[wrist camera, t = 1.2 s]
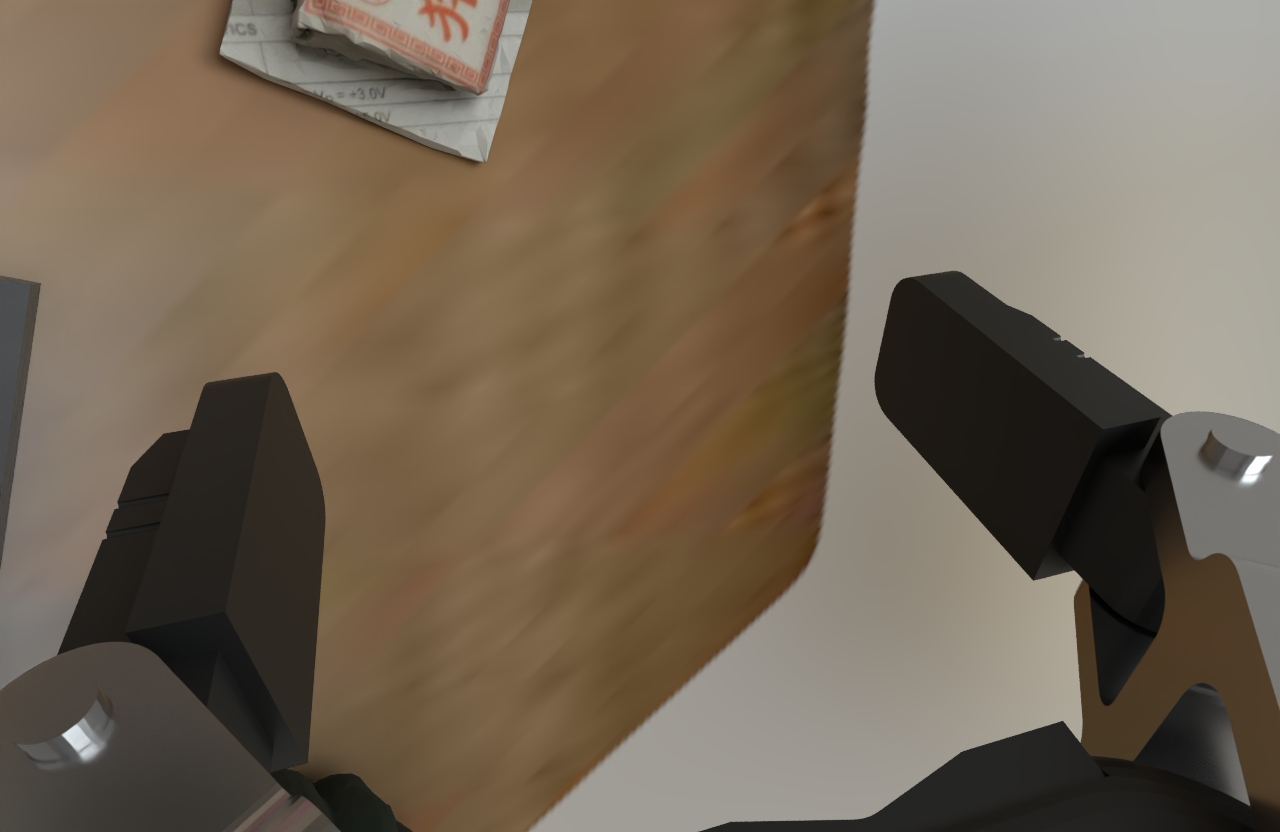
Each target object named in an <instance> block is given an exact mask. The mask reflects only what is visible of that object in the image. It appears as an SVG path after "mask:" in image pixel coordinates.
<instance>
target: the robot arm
mask: <svg viewBox="0 0 1280 832" xmlns="http://www.w3.org/2000/svg"><path fill="white" fill-rule="evenodd" d="M875 391H876V396H877V400H878V402H879V405H880V407H881V409H882V411H883V412H884V414H885V415H886V417H887V418H888V419H889V420H890V421H891V422H892V423H893V424H894V426H895V427H896V428H897V429H898V430H899V431H900V432H901V433H902V435H903V436H904V437H905V438H906V439H907V440H908V441H909V442H910V444H911V445H912V446H913V447H914V448H915V449H916V450H917V451H918V452H919V453H920V455H921V456H922V457H923V458H924V459H925V460H926V461H927V462H928V464H929V465H930V466H931V467H932V468H933V469H934V470H935V471H936V473H937V474H938V475H939V476H940V477H941V478H942V479H943V480H944V481H945V483H946V484H947V485H948V486H949V487H950V488H951V489H952V490H953V492H954V493H955V494H956V495H957V496H958V497H959V498H960V499H961V500H962V502H963V503H964V504H965V505H966V506H967V507H968V508H969V509H970V510H971V512H972V513H973V514H974V515H975V516H976V517H977V518H978V519H979V521H980V522H981V523H982V524H983V525H984V526H985V527H986V528H987V529H988V530H989V532H990V533H991V534H992V535H993V536H994V537H995V538H996V540H997V541H998V542H999V543H1000V544H1001V545H1002V546H1003V547H1004V548H1005V550H1006V551H1007V552H1008V553H1009V554H1010V555H1011V556H1012V557H1013V558H1014V560H1015V561H1016V562H1017V563H1018V564H1019V565H1020V566H1021V567H1022V569H1023V570H1024V571H1025V572H1026V573H1027V574H1028V575H1029V576H1030V577H1031V579H1032V580H1033V581H1034V580H1038V579H1042V578H1046V577H1050V576H1053V575H1057V574H1061V573H1065V572H1069V571H1073V570H1075V571H1076V572H1077V573H1078V574H1079V575H1080V576H1081V578H1082V581H1081V583H1080V585H1079V586H1078V589H1077V590H1076V593H1075V596H1074V612H1075V625H1076V638H1077V651H1078V664H1079V678H1080V691H1081V704H1082V718H1083V729H1082V738H1081V743H1080V742H1079V741H1078V739H1077V738H1076V737H1075V736H1074V734H1073V733H1072V732H1071V731H1070V730H1069V728H1068V727H1067V726H1066V724H1065V723H1064V722H1063V721H1061V722H1058V723H1055V724H1051V725H1048V726H1045V727H1042V728H1038V729H1035V730H1032V731H1028V732H1025V733H1022V734H1019V735H1015V736H1012V737H1009V738H1005V739H1002V740H999V741H995V742H992V743H989V744H986V745H982V746H979V747H976V748H972V749H969V750H966V751H963V752H961V753H960V754H958V755H957V756H955V757H954V758H953V759H951V760H950V761H948V762H947V763H946V764H944V765H943V766H942V767H940V768H939V769H937V770H936V771H935V772H933V773H932V774H930V775H929V776H928V777H926V778H925V779H923V780H922V781H921V782H919V783H918V784H916V785H915V786H914V787H912V788H911V789H910V790H908V791H907V792H905V793H904V794H903V795H901V796H900V797H899V798H897V799H896V800H894V801H893V802H891V803H890V804H889V805H887V806H886V807H885V808H883V809H882V810H880V811H879V812H877V813H876V814H874V815H872V816H870V817H867V818H863V819H857V820H813V821H760V822H759V821H757V822H756V821H755V822H729V823H726V824H723V825H720V826H716V827H713V828H709V829H706V830H703V831H700V832H1280V434H1278V433H1276V432H1275V431H1272V430H1270V429H1268V428H1266V427H1264V426H1261V425H1259V424H1256V423H1254V422H1251V421H1248V420H1245V419H1242V418H1238V417H1235V416H1230V415H1226V414H1220V413H1213V412H1186V413H1180V414H1177V415H1175V416H1172V415H1170V414H1169V413H1168V412H1166V411H1165V410H1163V409H1162V408H1161V407H1159V406H1158V405H1156V404H1155V403H1154V402H1152V401H1151V400H1149V399H1148V398H1147V397H1145V396H1144V395H1143V394H1141V393H1140V392H1138V391H1137V390H1135V389H1134V388H1132V387H1131V386H1130V385H1129V384H1127V383H1126V382H1124V381H1123V380H1122V379H1120V378H1118V377H1117V376H1116V375H1115V374H1113V373H1111V372H1110V371H1109V370H1108V369H1106V368H1105V367H1103V366H1102V365H1100V364H1099V363H1098V362H1096V361H1095V360H1094V359H1092V358H1091V357H1089V358H1085V357H1084V352H1082V351H1081V350H1080V349H1078V348H1077V347H1075V346H1074V345H1073V344H1071V343H1070V342H1068V341H1067V340H1064V341H1061V339H1060V335H1058V334H1057V333H1056V332H1054V331H1053V330H1051V329H1050V328H1049V327H1047V326H1046V325H1045V324H1043V323H1042V322H1040V321H1039V320H1037V319H1036V318H1035V317H1033V316H1032V315H1030V314H1027V313H1025V312H1022V311H1020V310H1018V309H1015V308H1013V307H1010V306H1008V305H1006V304H1005V303H1003V302H1002V301H1000V300H999V299H998V298H996V297H995V296H994V295H992V294H991V293H989V292H988V291H987V290H985V289H984V288H983V287H981V286H980V285H978V284H977V283H976V282H974V281H973V280H972V279H970V278H969V277H967V276H966V275H965V274H963V273H961V272H958V271H949V272H942V273H936V274H929V275H922V276H916V277H909V278H905V279H902V280H901V281H900V282H899V283H898V284H897V285H896V287H895V288H894V291H893V293H892V296H891V301H890V305H889V310H888V314H887V319H886V324H885V328H884V333H883V338H882V343H881V347H880V353H879V357H878V361H877V366H876V372H875ZM118 505H119V509H115V510H114V512H113V515H112V517H111V520H110V522H109V525H108V527H107V530H106V534H107V539H104V540H102V543H101V545H100V548H99V550H98V553H97V555H96V558H95V560H94V563H93V565H92V568H91V570H90V573H89V576H88V578H87V581H86V583H85V586H84V588H83V591H82V593H81V596H80V598H79V601H78V604H77V606H76V609H75V611H74V614H73V616H72V619H71V621H70V624H69V626H68V629H67V631H66V634H65V637H64V639H63V642H62V644H61V647H60V649H59V652H58V654H57V656H55V657H53V658H51V659H49V660H47V661H44V662H42V663H41V664H39V665H37V666H35V667H34V668H32V669H30V670H28V671H27V672H25V673H24V674H22V675H21V676H19V677H18V678H17V679H15V680H14V681H12V682H11V683H9V684H8V685H7V686H6V687H5V688H3V689H2V690H1V691H0V832H341V831H340V830H339V829H338V828H337V827H336V826H335V825H334V824H333V823H332V822H331V821H330V820H329V819H328V818H327V817H326V816H325V815H324V814H323V813H322V812H321V811H320V810H319V809H318V808H317V807H316V806H315V805H314V804H312V803H311V802H310V801H309V800H308V799H306V798H305V797H303V796H302V795H300V794H297V795H296V796H295V797H293V796H291V795H290V794H289V793H288V792H287V791H285V790H284V789H283V788H282V787H281V786H280V785H279V783H278V782H277V781H276V780H275V779H274V778H273V777H272V776H271V775H270V773H271V772H274V771H278V770H282V769H286V768H290V767H293V766H297V765H301V764H305V763H308V750H309V737H310V723H311V710H312V696H313V683H314V669H315V656H316V643H317V629H318V616H319V602H320V589H321V575H322V562H323V548H324V535H325V504H324V496H323V491H322V486H321V481H320V478H319V474H318V471H317V468H316V465H315V463H314V460H313V457H312V454H311V452H310V449H309V446H308V443H307V441H306V438H305V435H304V432H303V430H302V427H301V424H300V421H299V419H298V416H297V413H296V410H295V408H294V405H293V402H292V399H291V397H290V394H289V391H288V389H287V386H286V384H285V382H284V380H283V378H282V377H281V376H280V374H278V373H277V372H274V373H267V374H260V375H254V376H247V377H241V378H234V379H227V380H221V381H214V382H208V383H206V384H205V386H204V388H203V390H202V393H201V396H200V399H199V402H198V405H197V409H196V412H195V415H194V418H193V421H192V424H191V427H190V429H189V430H183V431H177V432H171V433H165V434H163V435H162V436H161V437H160V438H159V439H158V440H157V441H156V442H155V443H154V444H153V445H152V446H151V447H150V448H149V449H148V450H147V451H146V452H145V453H144V454H143V455H142V456H141V457H140V458H139V459H138V461H137V462H136V463H135V464H134V465H133V466H132V467H131V469H130V471H129V474H128V476H127V479H126V482H125V484H124V487H123V489H122V492H121V494H120V497H119V499H118Z"/></svg>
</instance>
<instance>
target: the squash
mask: <svg viewBox="0 0 1280 832" xmlns="http://www.w3.org/2000/svg"><path fill="white" fill-rule="evenodd" d="M270 775H271V776H272V777H273V778H274V779H275V780H276V781H277V782H278V783H279V785H280V786H281V787H282V788H283V789H284V790H285V791H287V792H288V793H289V794H290V795H291V796H293V797H295V796H296V795H297V794H300V795H302V796H303V797H305V798H306V799H308V800H309V801H310V802H311V803H312V804H314V805H315V806H316V807H317V808H318V809H319V810H320V811H321V812H322V813H323V814H324V815H325V816H326V817H327V818H328V819H329V820H330V821H331V822H332V823H333V824H334V825H335V826H336V827H337V828H338V829H339V830H340V831H341V832H412V831H411V830H410V829H408V828H407V827H405V826H404V825H402V824H401V823H399V822H398V821H396V819H395V817H394V814H393V812H392V809H391V807H390V806H389V805H387V804H386V803H384V802H383V801H382V800H381V799H380V798H379V797H377V796H376V795H375V794H374V793H373V792H372V791H371V790H370V789H369V788H368V787H367V786H366V784H365V783H364V782H363V781H362V780H361V778H360V777H358V776H356V775H354V774H336V775H331V776H328V777H326V778H323V779H321V780H319V781H317V782H316V783H314V784H312V783H311V782H310V781H309V780H307V779H306V778H305V777H304V776H302V775H301V774H300V773H298V772H297V771H293V770H289V769H282V770H278V771H274V772H271V773H270Z"/></svg>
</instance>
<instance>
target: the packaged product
mask: <svg viewBox="0 0 1280 832" xmlns="http://www.w3.org/2000/svg"><path fill="white" fill-rule="evenodd" d="M531 4H532V0H232V4H231V7H230V11H229V15H228V19H227V23H226V27H225V32H224V36H223V40H222V44H221V48H220V55H222V56H223V57H225V58H226V59H228V60H230V61H232V62H233V63H235V64H237V65H239V66H241V67H243V68H245V69H247V70H249V71H251V72H253V73H254V74H256V75H258V76H260V77H262V78H264V79H266V80H269V81H272V82H274V83H277V84H280V85H282V86H285V87H288V88H290V89H293V90H296V91H298V92H301V93H304V94H307V95H309V96H312V97H315V98H317V99H320V100H323V101H326V102H328V103H330V104H332V105H335V106H337V107H339V108H341V109H344V110H346V111H348V112H350V113H352V114H355V115H357V116H359V117H361V118H364V119H366V120H368V121H371V122H373V123H375V124H377V125H380V126H382V127H384V128H387V129H389V130H391V131H393V132H396V133H398V134H400V135H403V136H405V137H407V138H410V139H412V140H414V141H416V142H419V143H421V144H423V145H426V146H428V147H431V148H434V149H437V150H440V151H443V152H447V153H450V154H453V155H457V156H460V157H464V158H467V159H470V160H474V161H477V162H480V163H486V162H487V158H488V153H489V150H490V146H491V143H492V140H493V136H494V133H495V129H496V126H497V123H498V121H499V118H500V115H501V111H502V107H503V104H504V100H505V97H506V93H507V89H508V84H509V80H510V76H511V73H512V69H513V66H514V63H515V59H516V56H517V53H518V49H519V46H520V43H521V39H522V36H523V32H524V29H525V25H526V22H527V18H528V15H529V11H530V7H531Z"/></svg>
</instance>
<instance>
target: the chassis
mask: <svg viewBox="0 0 1280 832" xmlns="http://www.w3.org/2000/svg"><path fill="white" fill-rule="evenodd" d="M40 285H41V283H36V282H31V281H26V280H20V279H15V278H10V277H4V276H0V567H1V560H2V553H3V546H4V539H5V532H6V525H7V517H8V510H9V503H10V496H11V489H12V482H13V475H14V468H15V461H16V454H17V447H18V440H19V433H20V426H21V419H22V412H23V405H24V398H25V390H26V383H27V376H28V369H29V362H30V355H31V348H32V341H33V334H34V327H35V320H36V313H37V306H38V299H39V292H40Z"/></svg>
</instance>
